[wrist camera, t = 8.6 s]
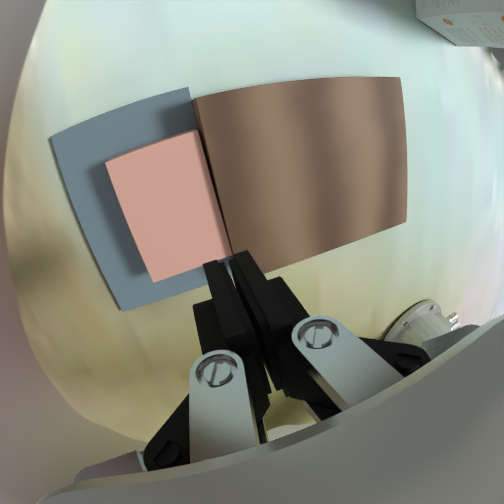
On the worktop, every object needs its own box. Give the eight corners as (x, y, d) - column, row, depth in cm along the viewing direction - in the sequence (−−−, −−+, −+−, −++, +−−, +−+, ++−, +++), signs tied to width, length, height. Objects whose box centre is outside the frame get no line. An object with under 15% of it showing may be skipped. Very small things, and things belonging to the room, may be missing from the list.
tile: (193, 129, 18) (197, 130, 16) (226, 243, 23) (232, 254, 21) (110, 158, 17) (105, 162, 16) (153, 269, 22) (153, 282, 20)
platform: (376, 78, 20) (400, 77, 18) (386, 211, 27) (406, 221, 24) (190, 100, 18) (195, 97, 15) (231, 262, 24) (241, 281, 21)
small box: (454, 7, 18) (541, 7, 7) (457, 47, 21) (550, 56, 10) (411, -25, 15) (508, -40, 4) (414, 18, 18) (523, 12, 7)
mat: (187, 87, 17) (188, 86, 17) (233, 272, 25) (235, 275, 24) (52, 136, 15) (50, 136, 15) (123, 308, 23) (122, 311, 22)
